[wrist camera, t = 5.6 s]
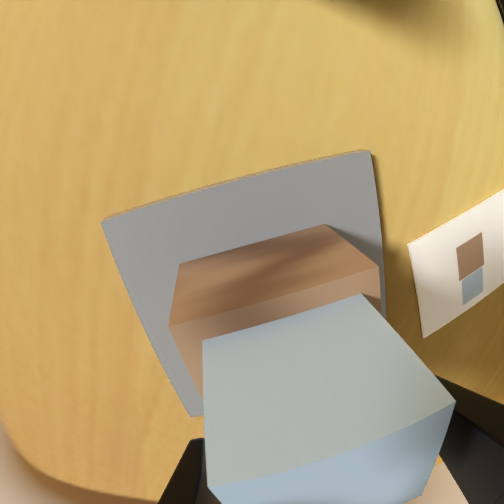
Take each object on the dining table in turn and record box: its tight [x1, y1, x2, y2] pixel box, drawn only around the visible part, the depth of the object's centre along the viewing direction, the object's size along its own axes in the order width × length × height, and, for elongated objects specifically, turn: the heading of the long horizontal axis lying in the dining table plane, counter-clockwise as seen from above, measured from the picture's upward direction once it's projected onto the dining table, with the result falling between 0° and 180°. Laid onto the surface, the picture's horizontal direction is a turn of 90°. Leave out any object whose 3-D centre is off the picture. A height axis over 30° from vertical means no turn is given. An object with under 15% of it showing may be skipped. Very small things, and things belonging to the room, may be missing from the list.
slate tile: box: [101, 150, 386, 417], centre depth 15 cm, size 12×12×1 cm
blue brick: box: [202, 293, 456, 504], centre depth 8 cm, size 5×5×5 cm
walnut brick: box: [168, 224, 381, 402], centre depth 13 cm, size 6×6×5 cm
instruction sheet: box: [407, 189, 504, 338], centre depth 17 cm, size 9×7×1 cm
